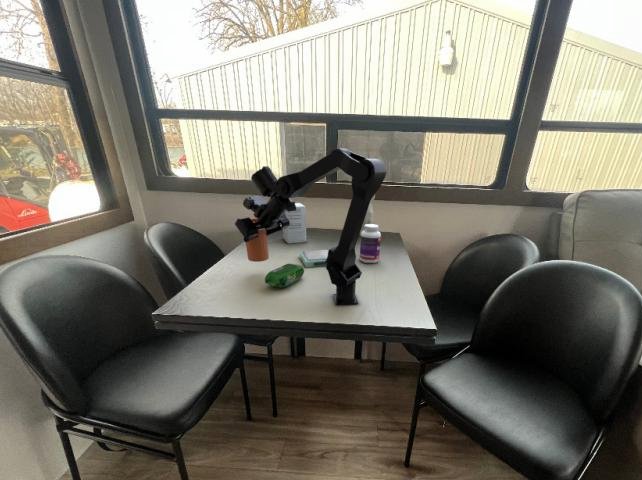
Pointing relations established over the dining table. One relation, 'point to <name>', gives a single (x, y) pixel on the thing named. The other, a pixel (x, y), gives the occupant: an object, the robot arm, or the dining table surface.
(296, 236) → the supplement box
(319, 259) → the scale
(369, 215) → the vase
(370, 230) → the pill bottle
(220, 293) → the dining table surface
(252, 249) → the jar
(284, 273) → the snack package
